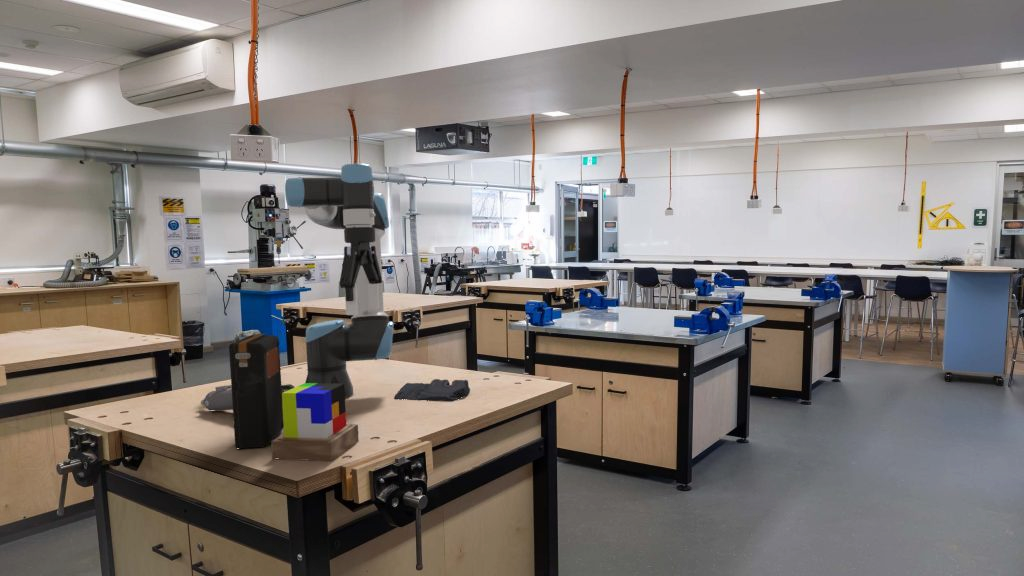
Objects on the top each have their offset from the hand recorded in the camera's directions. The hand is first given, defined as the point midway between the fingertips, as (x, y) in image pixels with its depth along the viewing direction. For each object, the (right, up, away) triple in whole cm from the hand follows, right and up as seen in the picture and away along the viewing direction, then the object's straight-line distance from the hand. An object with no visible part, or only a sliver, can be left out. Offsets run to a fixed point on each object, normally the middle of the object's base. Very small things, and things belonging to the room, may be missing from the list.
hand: (363, 311), depth 160 cm
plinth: (-7, -31, -15) cm, 35 cm away
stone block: (-48, -28, +52) cm, 76 cm away
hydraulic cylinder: (-37, -30, +18) cm, 51 cm away
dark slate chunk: (+13, -28, +36) cm, 47 cm away
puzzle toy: (-7, -27, -15) cm, 32 cm away
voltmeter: (-24, -31, -6) cm, 40 cm away
